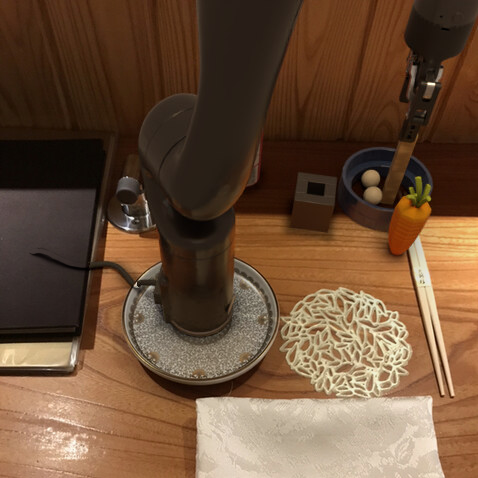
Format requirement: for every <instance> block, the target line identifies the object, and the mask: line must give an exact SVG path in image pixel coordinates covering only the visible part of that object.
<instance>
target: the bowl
mask: <svg viewBox="0 0 478 478" xmlns="http://www.w3.org/2000/svg"><path fill="white" fill-rule="evenodd" d="M396 149H397V148H393V147H385V146H375V147H373V146H372V147H368V148H363V149H361V150H359V151H356V152H355V153H353V154H352V155H350V156H349V157H348V158H347V159H346V161H345V162H344V165H343V167H342V169H341V173H340V177H339V181H338V187H337V190H336V198H337V202H338V206H339V208H340V209H341V211H342V212H343V213H344V214H345V215H346V216H347V217H348V218H349V219H350V220H351V221H352V222H355V223H356V224H357V225H359V226H361V227H363V228H366V229H369V230H372V231H377V232H384V233H385V232H386V233H389V226H390V222H391V219H392V216H393V213H394V210H395V208H390V207H381V206H378V205H372V204H370V203H368V202H366V201H364V198H362V197H360V196H359V195H358V194H356V192H354V191H353V189H352V186H354V184H355V183H356V182H357V181H359V180H361V179H362V175H363V174H364V173H365V172H366V171H368V170H375V171H376V172H378V174H379V176H380V177H384V178H387V175H388V172H389V169H390V166H391V163H392V160H393V157H394V154H395V152H396ZM415 177H421V181H422V194H421V197H422V195H423V192H424V189H425V186H426V184H429V185H430V186H431V189H430V192H429V194H428V196H430V197H431V194H432V191H433V189H434V188H433V187H434V185H433V181H434V180H433V178H432V175H431V173H430V171H429V169H428V168H427V167H426V166H425V164H424V163H423V162H422V161H421V160H420V159H418V158H417V157H415V156H414V155H411V157H410V160H409V163H408V165H407V168H406V171H405V173H404V176H403V179H402V181H401V184H400V185H402V187H404V188H405V189H406V190H407V192H408V193H409V195H411V193H410V190H409V187H413V188H414V192H415V194H416V183H415Z"/></svg>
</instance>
